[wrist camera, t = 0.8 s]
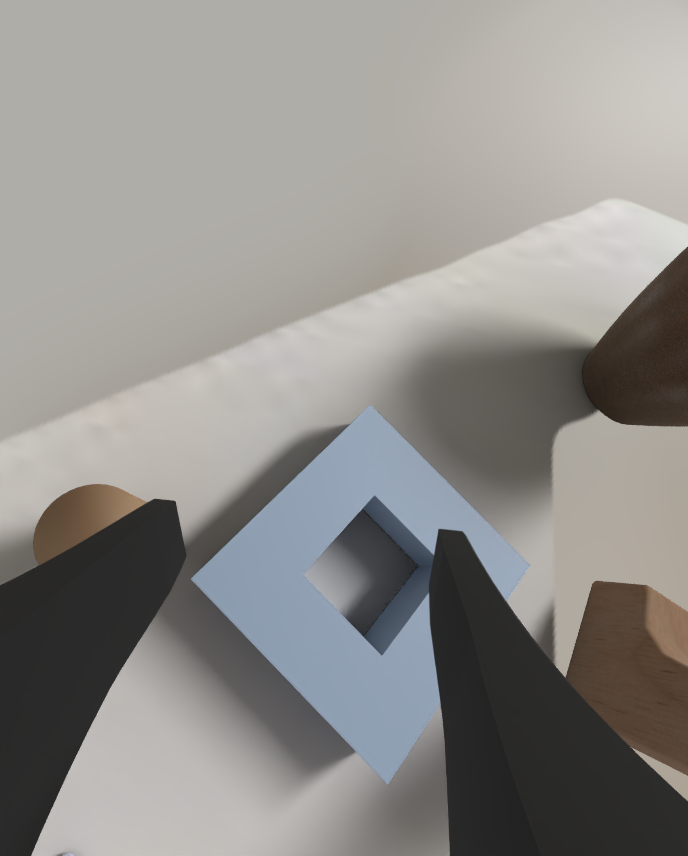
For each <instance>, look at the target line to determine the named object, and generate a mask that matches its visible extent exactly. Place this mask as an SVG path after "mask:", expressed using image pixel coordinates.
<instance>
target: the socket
mask: <svg viewBox="0 0 688 856" xmlns="http://www.w3.org/2000/svg"><path fill="white" fill-rule="evenodd" d="M362 509H363V510H364V511H365V512H366V513H367V514H368V515H369V516H370V517H371V518H372V519H373V520H374V521H375V522H376V523H377V524H378V525H379V526H380V527H381V528H382V529H383V530H384V531H385V532H386V533H387V534H388V535H389V536H390V537H391V538H392V539H393V540H394V541H395V542H396V543H397V544H398V545H399V546H400V547H401V548H402V549H403V550H404V551H405V552H406V553H407V555H408V556H409V557H410V558H411V559H412V560H413V561H414V562H415V563H416V564H417V565H418V567H417V569H416V570H415V571H414V572H413V574H412V575H411V576H410V578H409V579H408V580H407V581H406V583H405V584H404V585H403V587H402V588H401V589H400V590H399V592H398V593H397V594H396V596H395V597H394V598H393V599H392V601H391V602H390V603H389V605H388V606H387V607H386V608H385V610H384V611H383V612H382V614H381V615H380V616H379V617H378V619H377V620H376V621H375V623H374V624H373V625H372V626H371V628H370V629H369V630H368V632H367V633H366V634H365V635H364V637H363V636H362V635H361V634H360V633H359V632H358V631H357V630H356V629H355V628H354V627H353V626H352V625H351V624H350V623H349V622H348V620H347V619H346V618H345V617H344V616H343V615H342V614H341V613H340V612H339V611H338V610H337V609H336V608H335V607H334V606H333V605H332V604H331V603H330V602H329V601H328V600H327V599H326V598H325V597H324V596H323V595H322V594H321V593H320V592H319V591H318V590H317V589H316V587H315V586H314V585H313V584H312V583H311V582H310V581H309V580H308V579H307V578H306V577H305V576H304V575H303V574H304V573H305V571H306V570H307V569H308V568H309V567H310V566H311V565H312V564H313V563H314V562H315V560H316V559H317V558H318V557H319V556H320V555H321V554H322V553H323V552H324V550H325V549H326V548H327V547H328V546H329V545H330V544H331V543H332V542H333V541H334V539H335V538H336V537H337V536H338V535H339V534H340V533H341V532H342V531H343V530H344V528H345V527H346V526H347V525H348V524H349V523H350V522H351V521H352V520H353V518H354V517H355V516H356V515H357V514H358V513H359V512H360V511H361V510H362ZM438 529H447V530H457V531H463V532H464V533H465V535H466V536H467V538H468V540H469V542H470V543H471V545H472V547H473V549H474V551H475V552H476V554H477V556H478V558H479V559H480V561H481V563H482V564H483V566H484V568H485V569H486V571H487V573H488V574H489V576H490V577H491V579H492V581H493V582H494V584H495V585H496V587H497V588H498V590H499V591H500V593H501V594H502V596H503V597H504V599H505V600H506V601H507V600H508V598H509V597H510V595H511V594H512V592H513V591H514V589H515V588H516V586H517V584H518V583H519V581H520V580H521V578H522V577H523V575H524V574H525V572H526V571H527V569H528V567H529V566H530V564H529V563H528V562H527V561H526V560H525V559H524V558H523V557H522V556H521V555H520V554H519V553H518V552H517V551H516V550H515V549H514V548H513V547H512V546H511V545H510V544H509V543H508V542H507V541H506V540H505V539H504V538H503V537H502V536H501V535H500V534H499V533H498V532H497V531H496V530H495V529H494V528H493V527H492V526H491V525H490V524H489V523H488V522H487V521H486V520H485V519H484V518H483V517H482V516H481V515H480V514H479V513H478V512H477V511H476V510H475V509H474V508H473V507H472V506H471V505H470V504H469V503H468V502H467V501H466V500H465V499H464V498H463V497H462V496H461V495H460V494H459V493H458V492H457V491H456V490H455V489H454V488H453V487H452V486H451V485H450V484H449V483H448V482H447V481H446V480H445V479H444V478H443V477H442V476H441V475H440V474H439V473H438V472H437V471H436V470H435V469H434V468H433V467H432V466H431V465H430V464H429V463H428V462H427V461H426V460H425V459H424V458H423V457H422V456H421V455H420V454H419V453H418V452H417V451H416V450H415V449H414V448H413V447H412V446H411V445H410V444H409V443H408V442H407V441H406V440H405V439H404V438H403V437H402V436H401V435H400V434H399V433H398V432H397V431H396V430H395V429H394V428H393V427H392V426H391V425H390V424H389V423H388V422H387V421H386V420H385V419H384V418H383V417H382V416H381V415H380V414H379V413H378V412H377V411H376V410H375V409H374V408H373V407H372V406H371V405H370V406H369V407H368V408H367V409H366V410H364V411H363V412H362V413H361V414H360V415H359V416H358V417H357V418H356V419H355V420H354V421H353V422H352V423H351V424H350V425H349V426H348V427H347V428H346V429H345V430H344V431H343V432H342V433H341V434H340V435H339V436H338V437H337V438H336V439H335V440H334V441H333V442H331V443H330V444H329V445H328V446H327V447H326V448H325V449H324V450H323V451H322V452H321V453H320V454H319V455H318V456H317V457H316V458H315V459H314V460H313V461H312V462H311V463H310V464H309V465H308V466H307V467H306V468H305V469H304V470H303V471H302V472H301V473H299V474H298V475H297V476H296V477H295V478H294V479H293V480H292V481H291V482H290V483H289V484H288V485H287V486H286V487H285V488H284V489H283V490H282V491H281V492H280V493H279V494H278V495H277V496H276V497H275V498H274V499H273V500H272V501H271V502H270V503H269V504H268V505H266V506H265V507H264V508H263V509H262V510H261V511H260V512H259V513H258V514H257V515H256V516H255V517H254V518H253V519H252V520H251V521H250V522H249V523H248V524H247V525H246V526H245V527H244V528H243V529H242V530H241V531H240V532H239V533H238V534H237V535H236V536H234V537H233V538H232V539H231V540H230V541H229V542H228V543H227V544H226V545H225V546H224V547H223V548H222V549H221V550H220V551H219V552H218V553H217V554H216V555H215V556H214V557H213V558H212V559H211V560H210V561H209V562H208V563H207V564H206V565H205V566H204V567H203V568H201V569H200V570H199V571H198V572H197V573H196V574H195V575H194V576H193V577H192V578H191V580H192V581H193V582H194V583H195V584H196V585H197V586H198V587H199V588H200V589H201V590H202V591H203V592H204V594H205V595H206V596H207V597H208V598H209V599H210V600H211V601H212V602H213V603H214V604H215V605H216V606H217V607H218V608H219V609H220V610H221V611H222V612H223V613H224V614H225V615H226V616H227V618H228V619H229V620H230V621H231V622H232V623H233V624H234V625H235V626H236V627H237V628H238V629H239V630H240V631H241V632H242V633H243V634H244V635H245V636H246V637H247V638H248V639H249V640H250V642H251V643H252V644H253V645H254V646H255V647H256V648H257V649H258V650H259V651H260V652H261V653H262V654H263V655H264V656H265V657H266V658H267V659H268V660H269V661H270V662H271V663H272V665H273V666H274V667H275V668H276V669H277V670H278V671H279V672H280V673H281V674H282V675H283V676H284V677H285V678H286V679H287V680H288V681H289V682H290V683H291V684H292V685H293V686H294V687H295V689H296V690H297V691H298V692H299V693H300V694H301V695H302V696H303V697H304V698H305V699H306V700H307V701H308V702H309V703H310V704H311V705H312V706H313V707H314V708H315V709H316V710H317V711H318V713H319V714H320V715H321V716H322V717H323V718H324V719H325V720H326V721H327V722H328V723H329V724H330V725H331V726H332V727H333V728H334V729H335V730H336V731H337V732H338V733H339V734H340V735H341V737H342V738H343V739H344V740H345V741H346V742H347V743H348V744H349V745H350V746H351V747H352V748H353V749H354V750H355V751H356V752H357V753H358V754H359V755H360V756H361V757H362V758H363V759H364V761H365V762H366V763H367V764H368V765H369V766H370V767H371V768H372V769H373V770H374V771H375V772H376V773H377V774H378V775H379V776H380V777H381V778H382V779H383V780H384V781H385V782H386V783H387V785H388V784H389V782H390V781H391V779H392V778H393V776H394V774H395V773H396V771H397V770H398V768H399V767H400V765H401V764H402V762H403V761H404V759H405V757H406V756H407V754H408V753H409V751H410V750H411V748H412V747H413V745H414V744H415V742H416V740H417V739H418V737H419V736H420V734H421V733H422V731H423V730H424V728H425V727H426V725H427V723H428V722H429V720H430V719H431V717H432V716H433V714H434V713H435V711H436V710H437V708H438V706H439V705H440V696H439V688H438V681H437V674H436V666H435V659H434V652H433V644H432V637H431V629H430V613H429V581H430V575H431V569H432V564H433V558H434V552H435V546H436V540H437V535H438Z"/></svg>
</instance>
